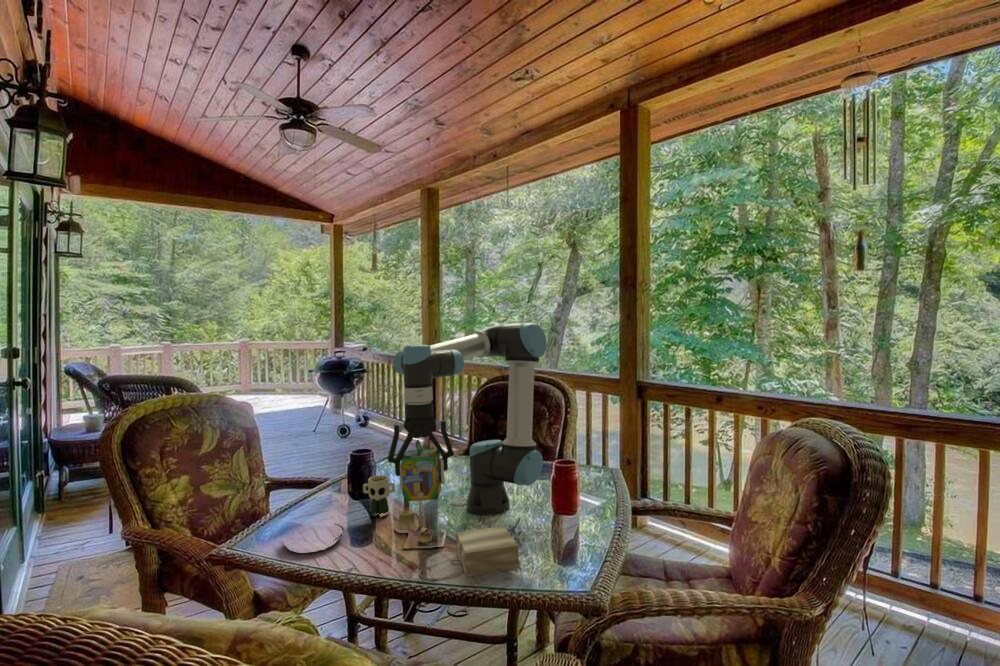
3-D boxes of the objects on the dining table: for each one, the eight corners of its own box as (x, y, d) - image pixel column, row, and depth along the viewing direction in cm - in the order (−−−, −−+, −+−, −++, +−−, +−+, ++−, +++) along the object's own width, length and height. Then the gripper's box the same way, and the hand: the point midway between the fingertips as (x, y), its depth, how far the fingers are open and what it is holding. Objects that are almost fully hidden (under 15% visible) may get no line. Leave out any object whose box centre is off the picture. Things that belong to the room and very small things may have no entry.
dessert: (447, 533, 159) (446, 518, 159) (443, 550, 147) (443, 533, 147) (408, 535, 158) (408, 520, 158) (402, 552, 146) (401, 535, 146)
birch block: (456, 553, 143) (456, 532, 143) (504, 546, 146) (504, 525, 146) (466, 576, 129) (465, 553, 129) (519, 568, 133) (518, 545, 133)
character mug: (361, 520, 171) (359, 481, 171) (366, 512, 178) (365, 475, 178) (393, 519, 171) (392, 480, 171) (397, 511, 178) (396, 474, 178)
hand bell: (410, 522, 168) (408, 473, 168) (425, 528, 162) (423, 478, 162) (388, 529, 162) (386, 479, 162) (403, 536, 156) (401, 484, 156)
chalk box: (437, 501, 132) (435, 444, 132) (402, 502, 132) (400, 445, 132) (442, 489, 141) (440, 436, 141) (409, 490, 141) (407, 437, 141)
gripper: (375, 407, 130) (379, 494, 130) (463, 401, 135) (466, 484, 136) (375, 403, 137) (378, 485, 137) (458, 397, 143) (461, 476, 143)
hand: (422, 485), depth 136 cm, fingers closed on chalk box, 10 cm apart
